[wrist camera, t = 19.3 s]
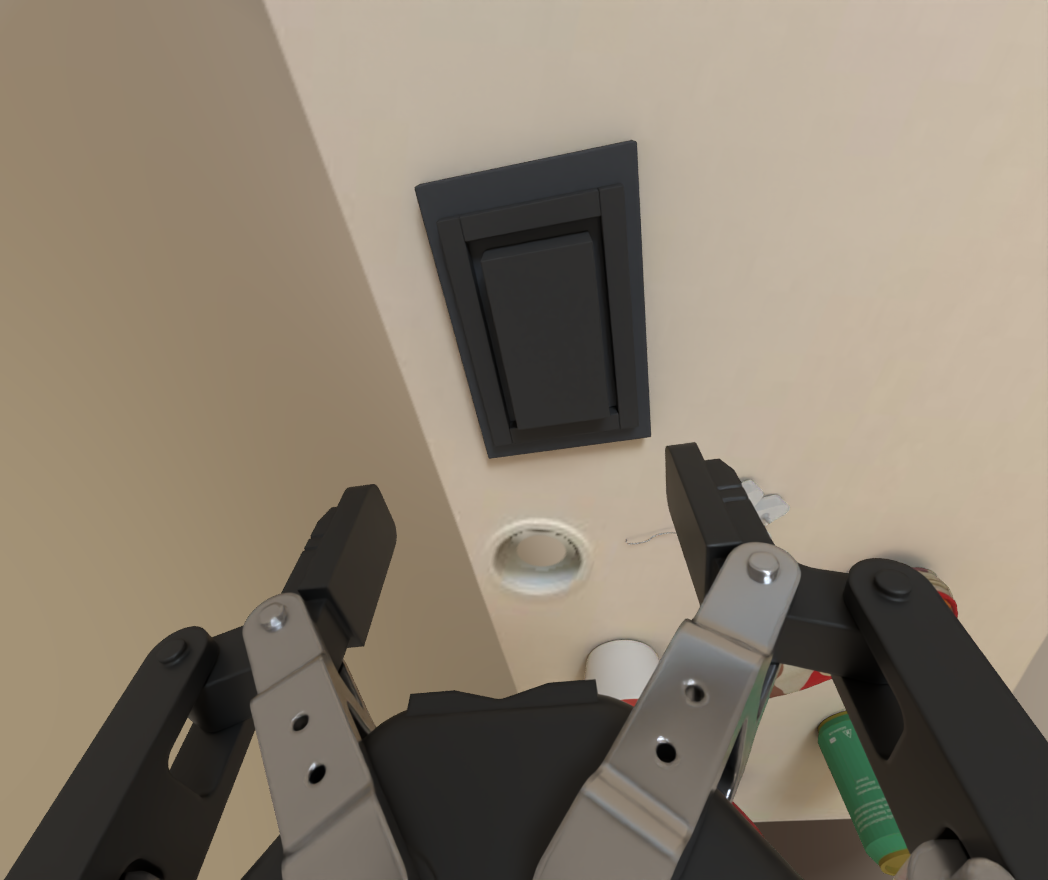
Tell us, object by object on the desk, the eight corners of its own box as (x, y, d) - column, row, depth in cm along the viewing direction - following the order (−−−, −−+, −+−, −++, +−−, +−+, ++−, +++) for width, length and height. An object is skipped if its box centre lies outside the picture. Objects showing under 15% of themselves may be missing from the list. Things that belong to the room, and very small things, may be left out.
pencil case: (943, 615, 44) (985, 668, 39) (727, 677, 50) (744, 729, 46) (921, 538, 38) (967, 590, 34) (684, 618, 45) (698, 670, 41)
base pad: (418, 184, 26) (409, 190, 24) (633, 139, 24) (640, 142, 22) (490, 449, 35) (487, 467, 33) (648, 427, 33) (654, 445, 32)
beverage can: (834, 750, 58) (896, 884, 48) (799, 724, 55) (858, 862, 45) (904, 727, 54) (986, 866, 44) (871, 698, 51) (951, 840, 41)
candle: (566, 678, 51) (569, 743, 45) (588, 625, 46) (595, 692, 40) (650, 688, 51) (663, 755, 46) (682, 637, 46) (700, 705, 41)
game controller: (794, 512, 37) (809, 537, 35) (662, 575, 42) (669, 601, 40) (760, 466, 35) (774, 490, 33) (624, 538, 39) (629, 563, 37)
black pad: (484, 249, 26) (479, 261, 24) (588, 229, 25) (592, 240, 23) (519, 409, 32) (517, 430, 30) (605, 397, 31) (610, 418, 29)
